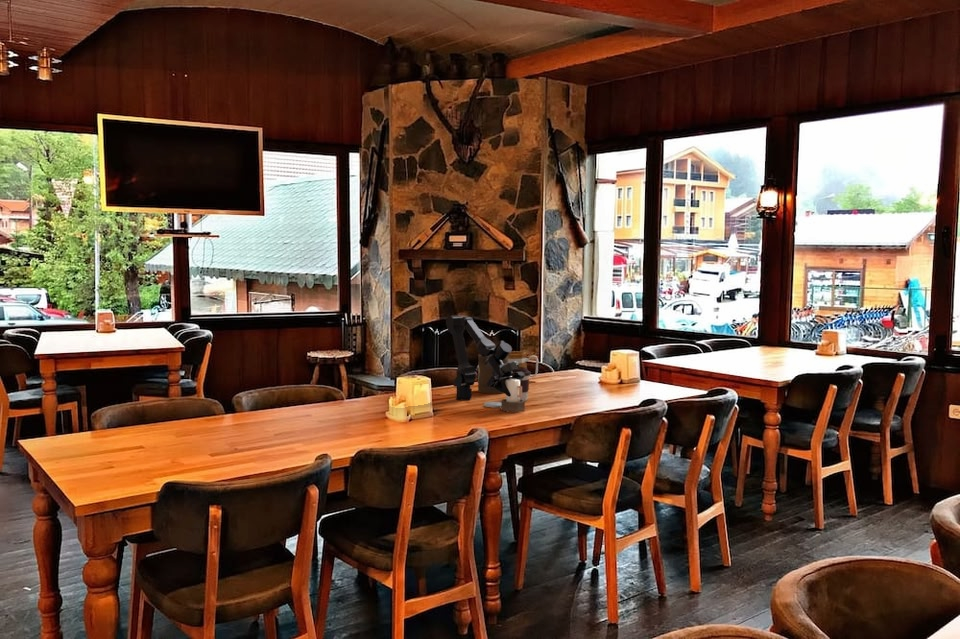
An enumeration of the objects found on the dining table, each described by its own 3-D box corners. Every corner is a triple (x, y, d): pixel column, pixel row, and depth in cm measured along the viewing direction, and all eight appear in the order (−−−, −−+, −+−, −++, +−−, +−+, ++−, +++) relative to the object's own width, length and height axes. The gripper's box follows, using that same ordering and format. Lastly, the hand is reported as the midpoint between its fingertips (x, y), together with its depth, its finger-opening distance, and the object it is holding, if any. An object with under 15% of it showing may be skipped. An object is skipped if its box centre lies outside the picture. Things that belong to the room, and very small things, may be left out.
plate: (483, 407, 335) (483, 405, 335) (484, 403, 345) (484, 401, 345) (506, 408, 334) (506, 406, 334) (506, 403, 344) (506, 401, 344)
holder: (496, 409, 331) (496, 400, 331) (513, 406, 338) (513, 397, 338) (512, 413, 324) (512, 403, 323) (529, 410, 330) (529, 400, 330)
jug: (503, 409, 331) (503, 379, 330) (513, 407, 335) (513, 378, 334) (516, 412, 325) (516, 382, 324) (526, 410, 329) (526, 380, 328)
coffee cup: (530, 398, 357) (530, 366, 356) (529, 402, 348) (530, 369, 346) (509, 397, 358) (509, 366, 357) (508, 401, 348) (508, 369, 347)
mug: (499, 382, 402) (499, 354, 400) (503, 378, 415) (503, 350, 414) (537, 383, 398) (537, 355, 397) (539, 379, 412) (539, 351, 410)
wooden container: (489, 387, 386) (489, 344, 384) (514, 390, 377) (514, 346, 375) (472, 392, 374) (472, 347, 372) (497, 395, 365) (497, 349, 363)
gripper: (491, 357, 326) (509, 386, 318) (522, 353, 338) (540, 381, 331) (478, 373, 332) (496, 402, 325) (509, 369, 344) (527, 396, 337)
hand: (515, 395), depth 329 cm, fingers closed on jug, 6 cm apart
